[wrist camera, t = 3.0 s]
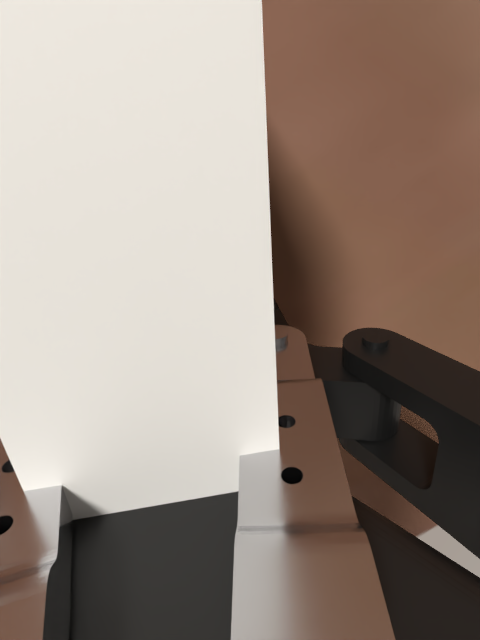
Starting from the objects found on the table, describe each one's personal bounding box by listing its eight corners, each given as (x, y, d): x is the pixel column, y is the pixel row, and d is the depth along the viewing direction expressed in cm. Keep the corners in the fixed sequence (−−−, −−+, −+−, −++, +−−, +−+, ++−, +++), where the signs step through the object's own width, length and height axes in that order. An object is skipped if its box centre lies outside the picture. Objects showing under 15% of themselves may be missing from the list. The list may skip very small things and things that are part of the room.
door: (185, -16, 10) (243, -432, 2) (236, 467, 18) (292, 767, 10) (3, -6, 10) (-709, -472, 2) (133, 484, 17) (103, 811, 9)
